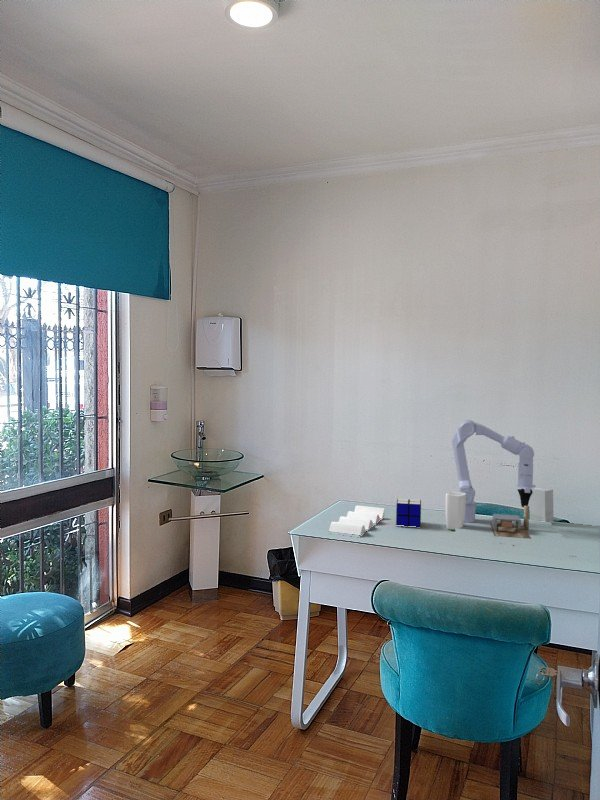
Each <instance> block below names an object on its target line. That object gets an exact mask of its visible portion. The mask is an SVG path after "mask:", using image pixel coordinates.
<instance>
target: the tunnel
mask: <svg viewBox="0 0 600 800" xmlns="http://www.w3.org/2000/svg"><path fill="white" fill-rule="evenodd" d="M501 520H505V521H512V522H515V525H517V527H518V528H521V526H522V524H521V523H522V519H521V518H520V516H519V515H518V514H517V515H516V514H515V515H514V514H504V513H503V514H501V513H500V514H499V513H492V521H491V524H492V527H493V530H494V532H497V523H498V521H501Z"/></svg>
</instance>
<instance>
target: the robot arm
mask: <svg viewBox="0 0 600 800" xmlns="http://www.w3.org/2000/svg"><path fill="white" fill-rule="evenodd" d="M473 435H475V436H485V437H487V438H489V439H490V440H493V441H494V442H497V443H499V444H500V445H501V446H500V447H501V448H502V449H503V450H506V451H507V452H510V453H511V454H514V455H515V456H519V462H518V472H517V474H518V476H517V477H518V478H517V484H516V485H517V486H516V487H517V488H519V489H517V492H518V494H519V498H520V505H521V507H522V508H524V506H529V504H530V497H531V495H532V493H533V491H532V490H531V489H532V488H535V487H537V486H536V485H535V484H533V481H534V456H535V453H534V452H535V451H534V449H533V447H532V446H530V445H529V444H526V442H524V441H520V440H518V439H516V438H515V436H513V435H511V436H510V435H506V436H503V435H502V434H500V433H498V432H497V431H495V430H493V429H491V428H489V427H487V426H485V425H483V424H481V423H478V422H475V421H473V420H471V419H467V420H464V421H463V422H462V423H461V424H460V425H459V426H458V427H457V428H456V431H455V433H454V435H453V438H452V439H451V444H452V450H453V456H454V461H455V466H456V471H457V472H456V473H457V478H458V486H459V492H460V493H465V494H466V506H465V517H464V523H467V524H468V523H469V524H470V523H475V522H476V503H477V502H476V501H474V499H475V496H476V490H475V488H474V487H473V486H472V481H471V478H470V472H469V467H468V460H467V456H466V455H467V454H466V450H465V445H464V444H465V442H466V441H467V440H468V439H469V438H470V437H471V436H472V437H473Z"/></svg>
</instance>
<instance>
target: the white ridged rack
mask: <svg viewBox="0 0 600 800" xmlns="http://www.w3.org/2000/svg"><path fill="white" fill-rule="evenodd" d="M383 517H384V518H385V507H376V506H367V505H366V506H365V505H355V506H354V511H351V510H348V511H347V513H346V516H343V515H341V516H340V517H339V519H338V521H331V523H330V525H329V529H328V532H329V531H330V532H338V533H345V534H352V535H359V536H361V535H362V534H363V533H364V532H366V529H369V528H370V527H372V526H373V523H377V522H378V521H379V520H380V518H383ZM366 533H367V532H366ZM362 536H363V535H362ZM362 536H361V537H362Z"/></svg>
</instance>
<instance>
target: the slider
mask: <svg viewBox="0 0 600 800" xmlns="http://www.w3.org/2000/svg"><path fill="white" fill-rule="evenodd" d="M500 526H501V522H497V527H498V531H509V532H516V528H518V527H517V525H516V524H514V523H512V527H500ZM529 528H530V505H528V506H524V507H523V525H521V528H518V529H526V530H529Z"/></svg>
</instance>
